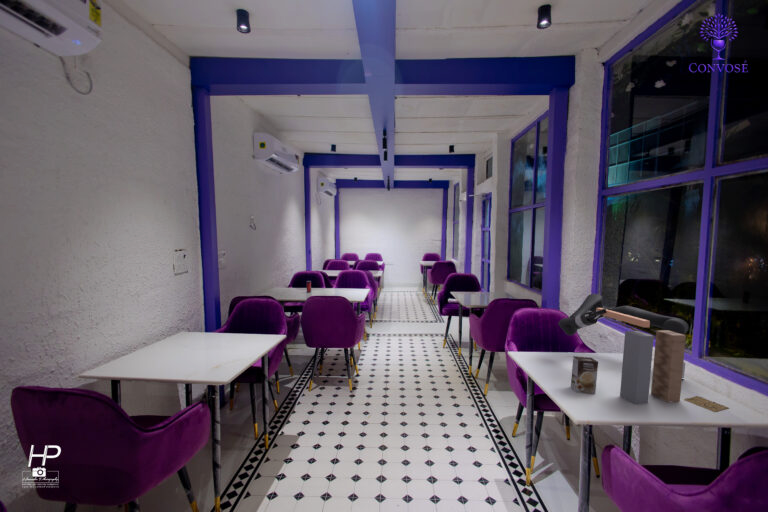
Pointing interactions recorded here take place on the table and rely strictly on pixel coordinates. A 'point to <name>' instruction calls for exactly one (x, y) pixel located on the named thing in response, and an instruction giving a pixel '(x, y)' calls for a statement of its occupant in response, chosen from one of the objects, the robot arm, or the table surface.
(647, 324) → the bar
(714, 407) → the sandy brown tile
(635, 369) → the grey stand
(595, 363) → the coffee box
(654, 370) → the walnut stand
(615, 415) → the table surface
